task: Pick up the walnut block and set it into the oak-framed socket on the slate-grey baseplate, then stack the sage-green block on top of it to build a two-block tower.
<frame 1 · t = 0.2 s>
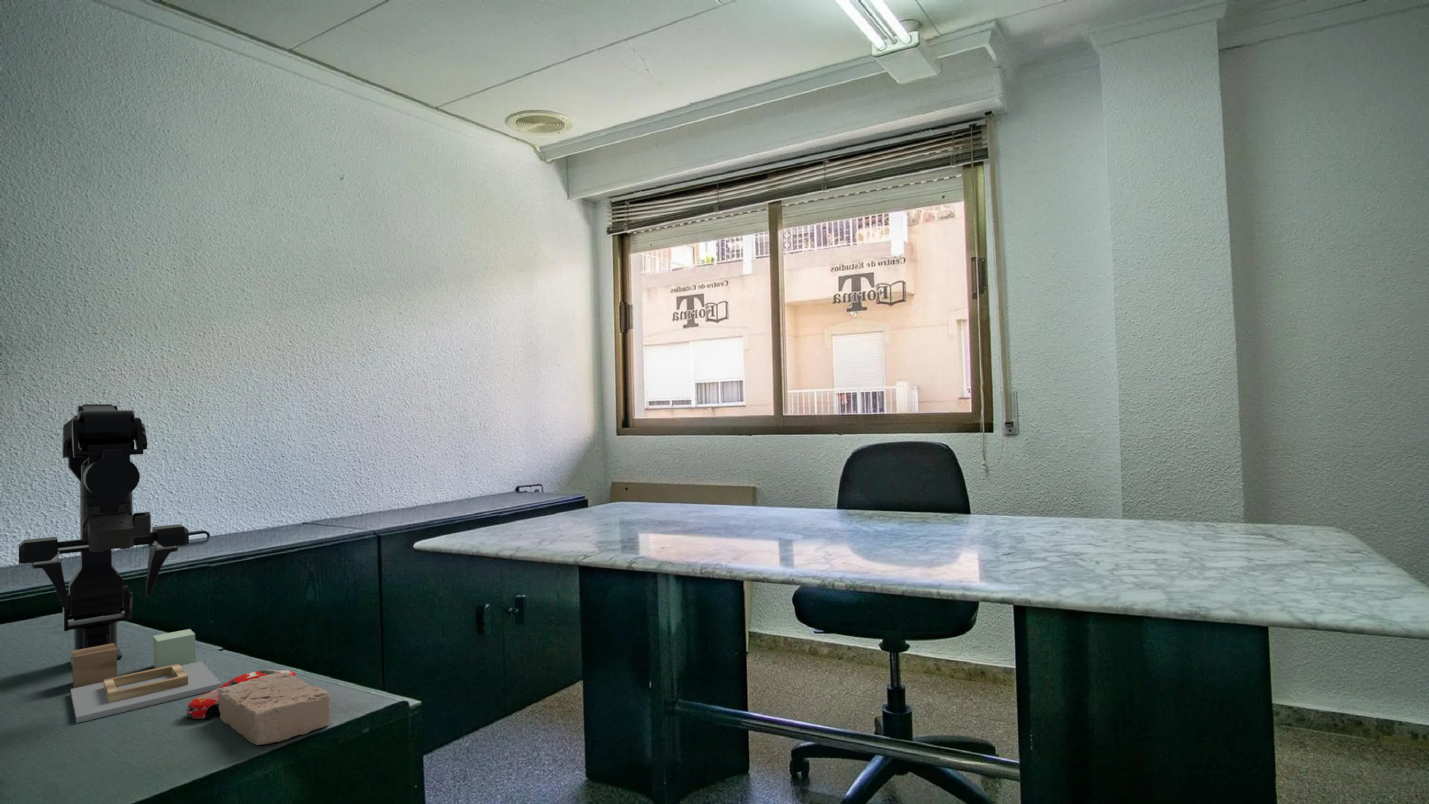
hand: (108, 601, 104), 14 cm above the table, fingers open, 9 cm apart
walnut block: (94, 682, 111), on the table
sage block: (174, 665, 118), on the table
baseplate: (145, 691, 105), on the table
brick: (272, 726, 91), on the table
race car: (244, 706, 98), on the table
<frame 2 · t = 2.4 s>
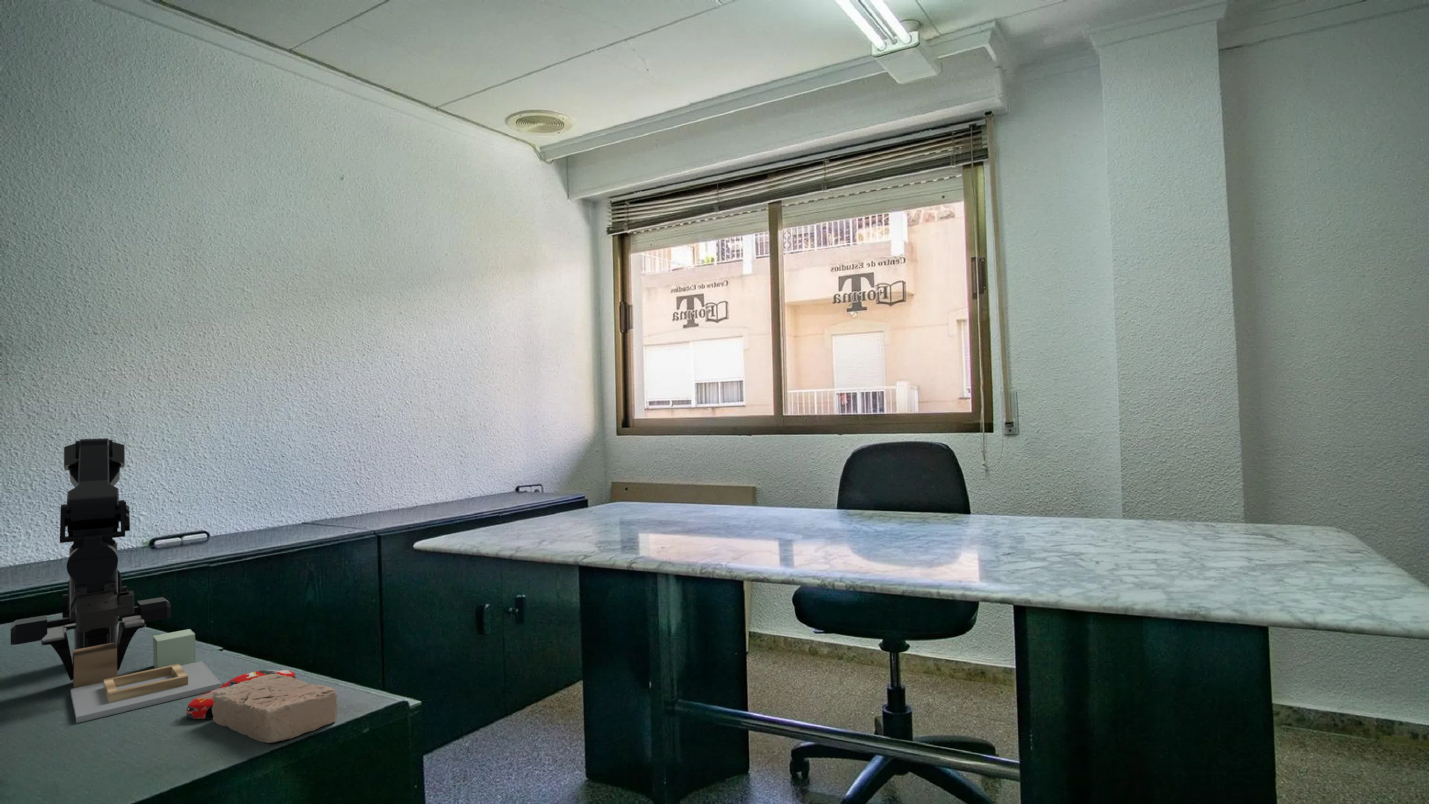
hand: (94, 674, 111), 1 cm above the table, fingers closed on walnut block, 5 cm apart
walnut block: (94, 681, 111), on the table, touching gripper
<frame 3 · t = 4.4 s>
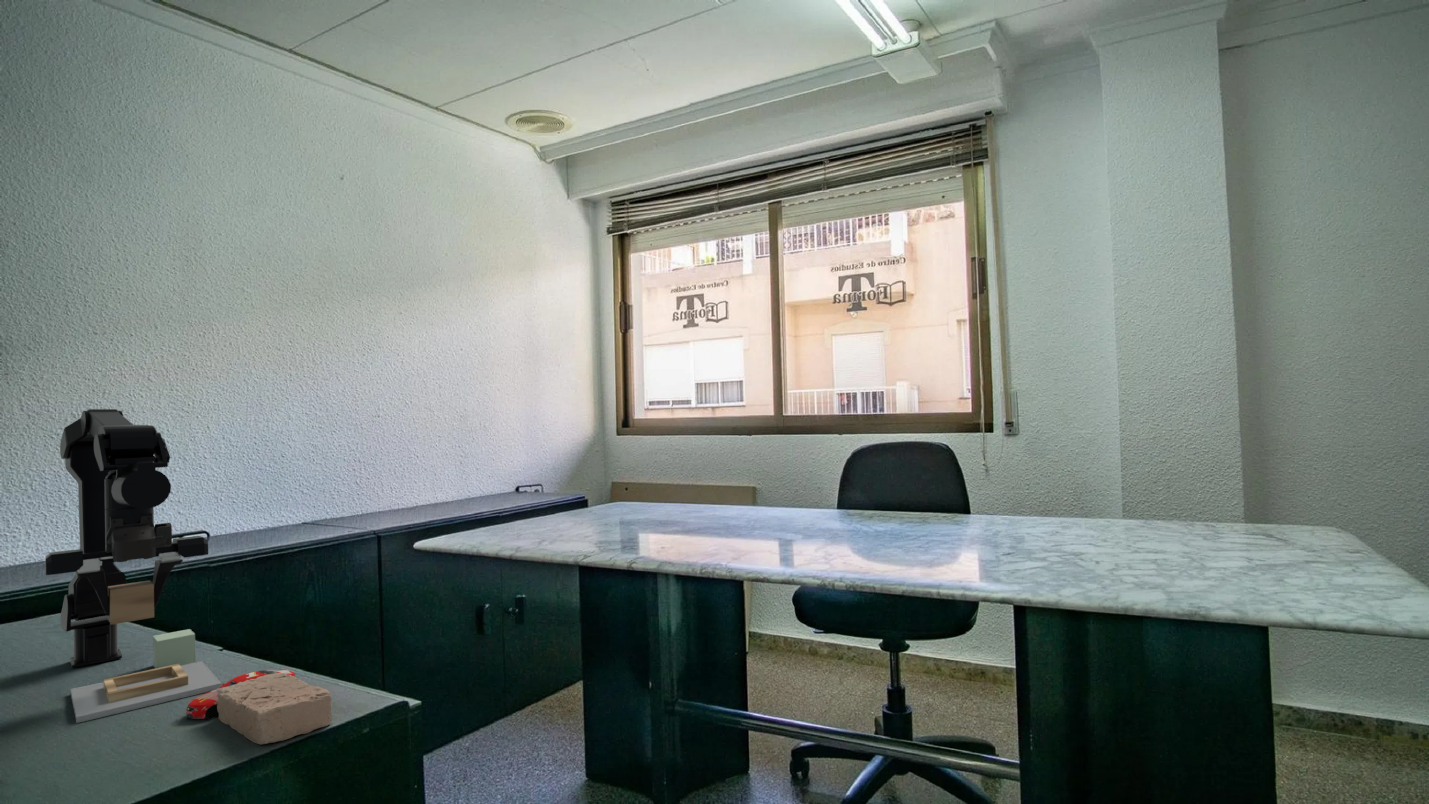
hand: (131, 611, 107), 12 cm above the table, fingers closed on walnut block, 5 cm apart
walnut block: (131, 618, 106), point 11 cm above the table, touching gripper
everything else where it was.
when the fingers open (3 cm above the table, at t = 6.6 s): walnut block stays where it is, resting on baseplate.
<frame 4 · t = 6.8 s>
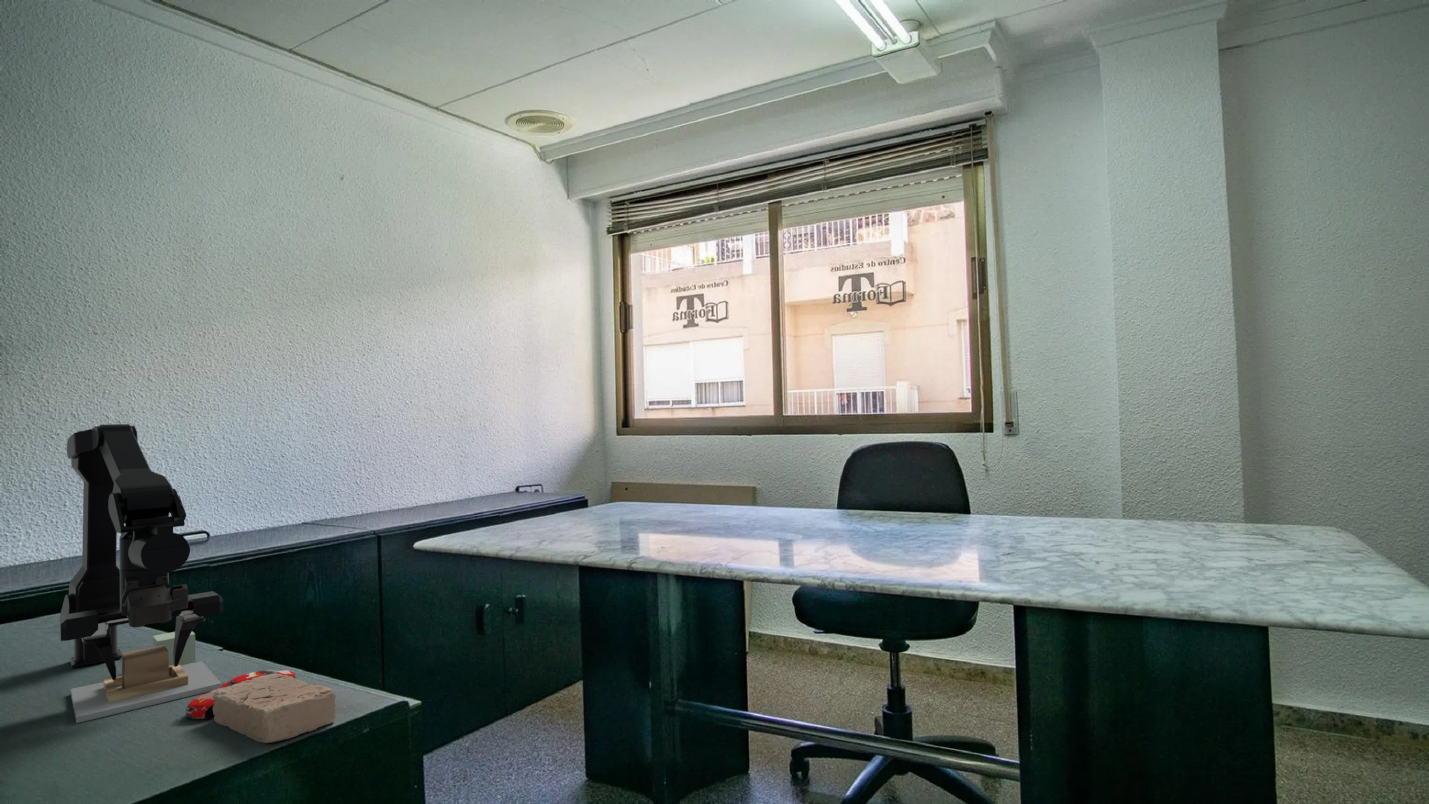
hand: (145, 672, 105), 3 cm above the table, fingers open, 7 cm apart
walnut block: (145, 686, 105), point 1 cm above the table, touching baseplate
everything else where it was.
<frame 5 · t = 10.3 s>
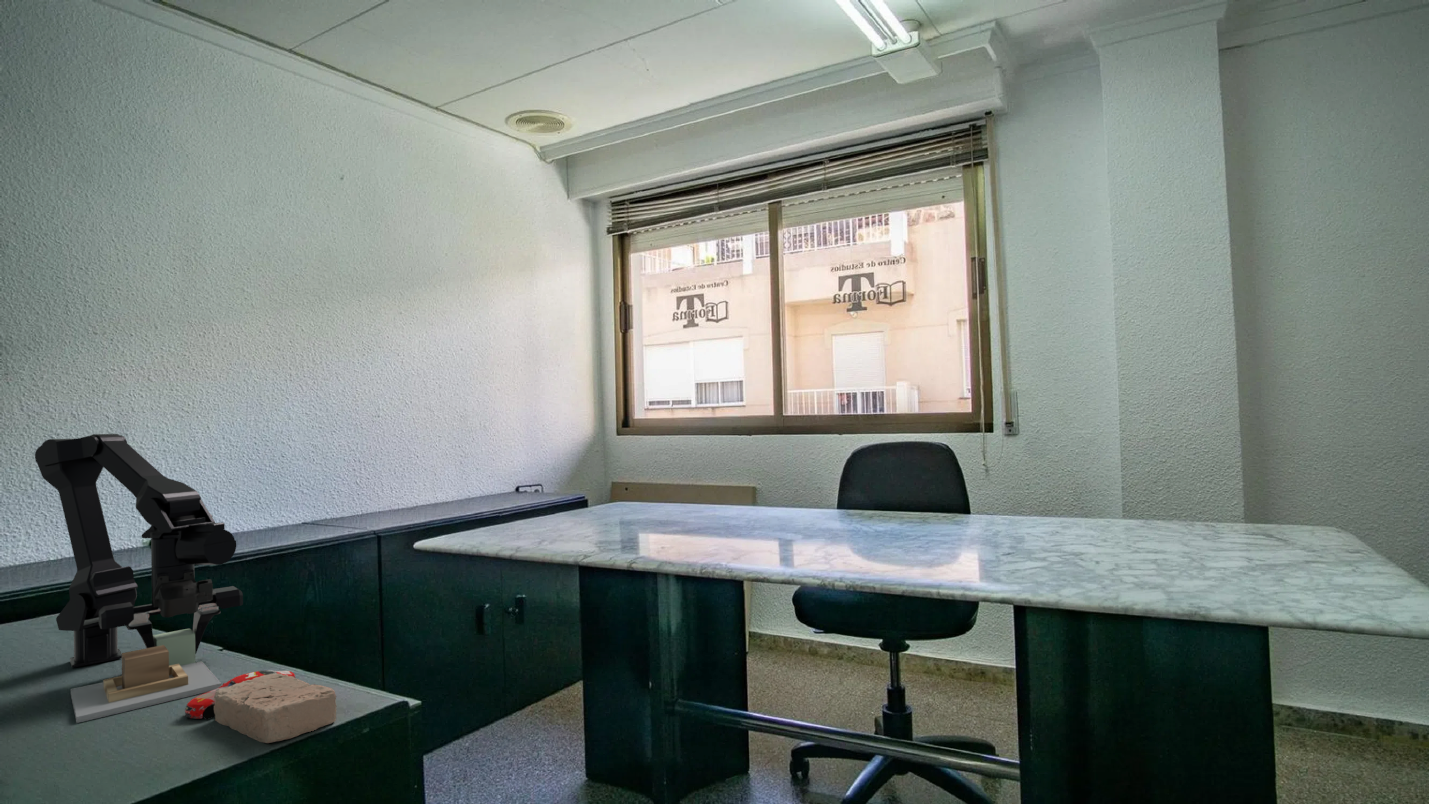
hand: (174, 658, 118), 1 cm above the table, fingers closed on sage block, 5 cm apart
sage block: (174, 664, 118), on the table, touching gripper
everything else where it was.
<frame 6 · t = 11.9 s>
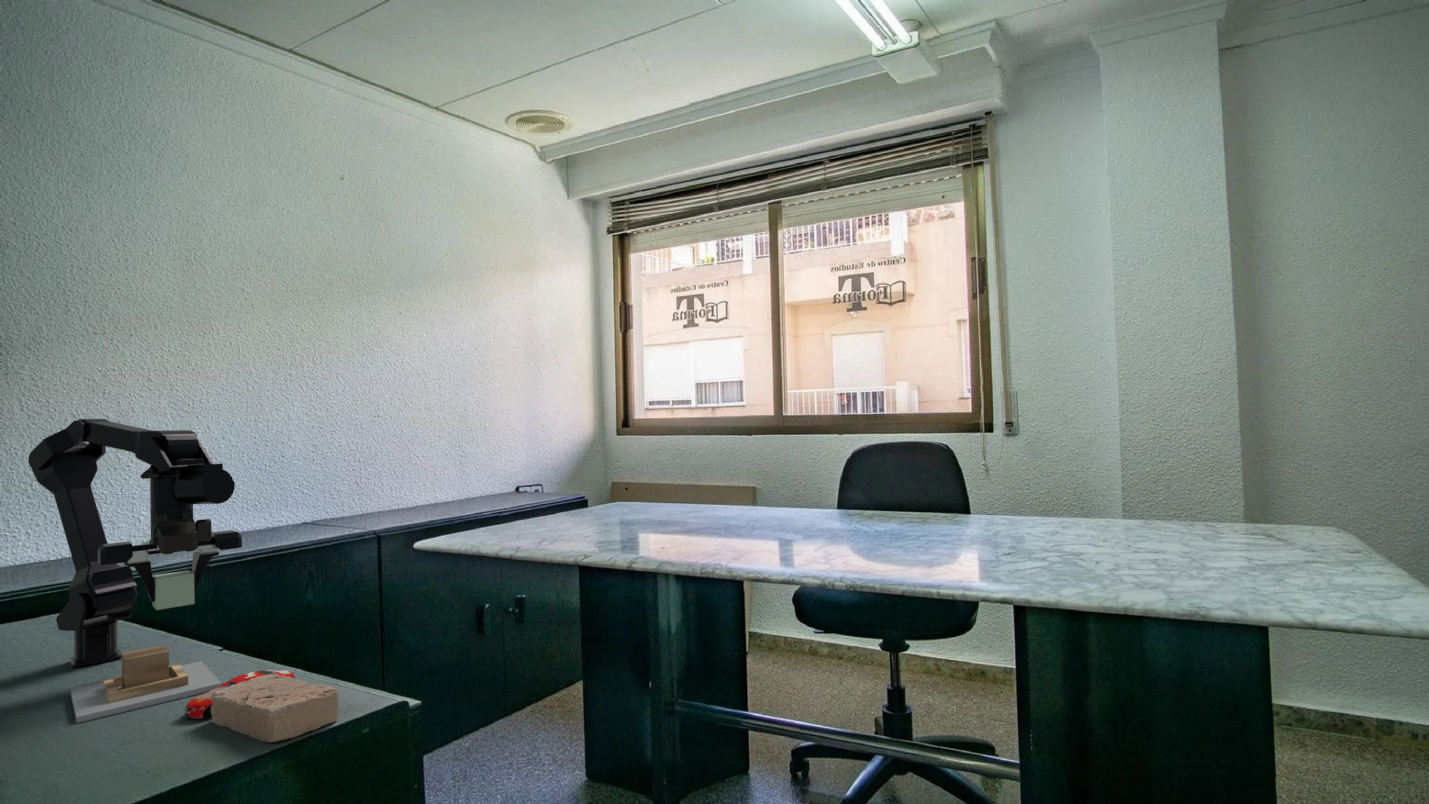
hand: (173, 598, 118), 11 cm above the table, fingers closed on sage block, 5 cm apart
sage block: (173, 604, 118), point 10 cm above the table, touching gripper
everything else where it was.
when the fingers open (8 cm above the table, at t = 13.8 s): sage block stays where it is, resting on walnut block.
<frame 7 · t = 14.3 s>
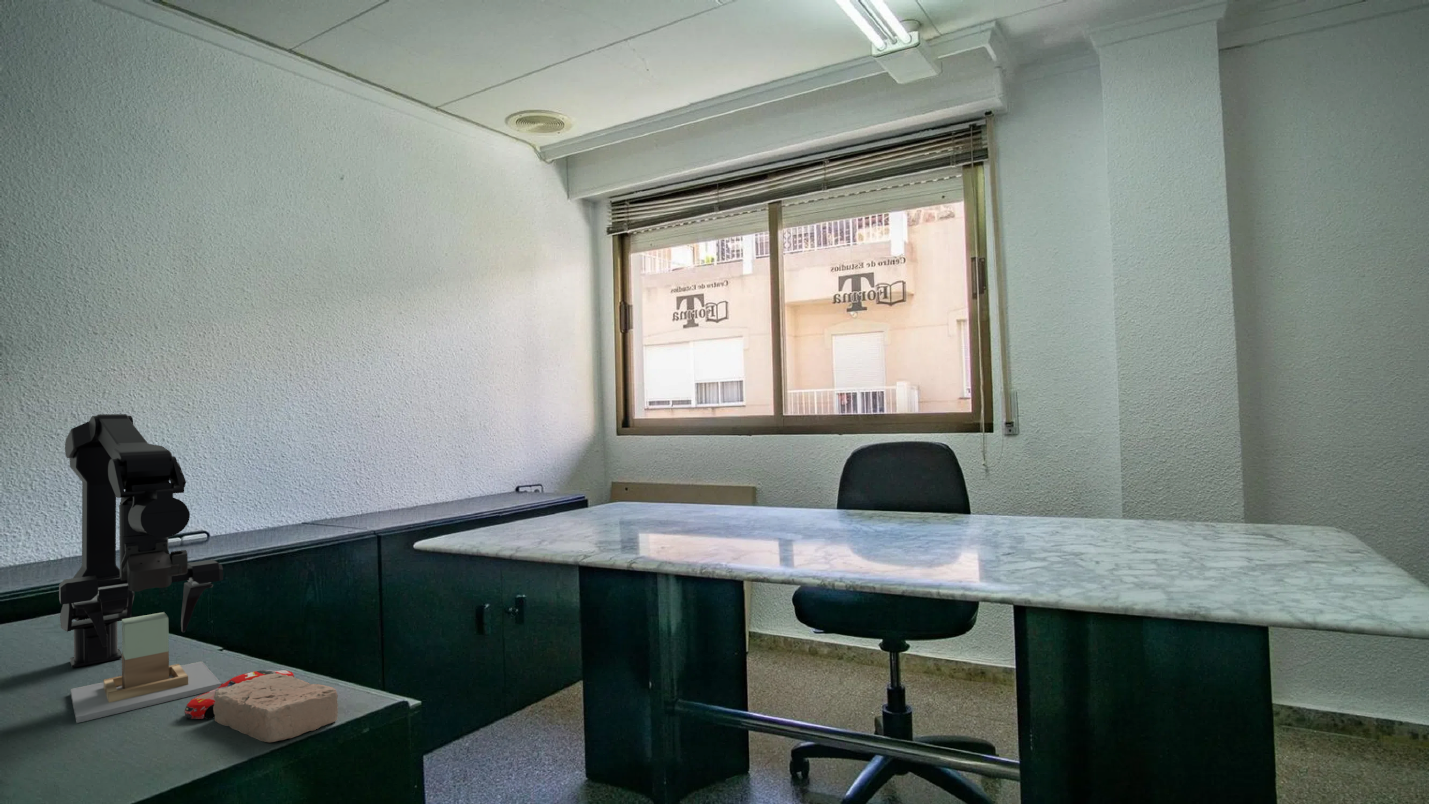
hand: (145, 638, 105), 8 cm above the table, fingers open, 9 cm apart
walnut block: (145, 686, 105), point 1 cm above the table, touching baseplate, sage block
sage block: (145, 652, 105), point 6 cm above the table, touching walnut block
everything else where it was.
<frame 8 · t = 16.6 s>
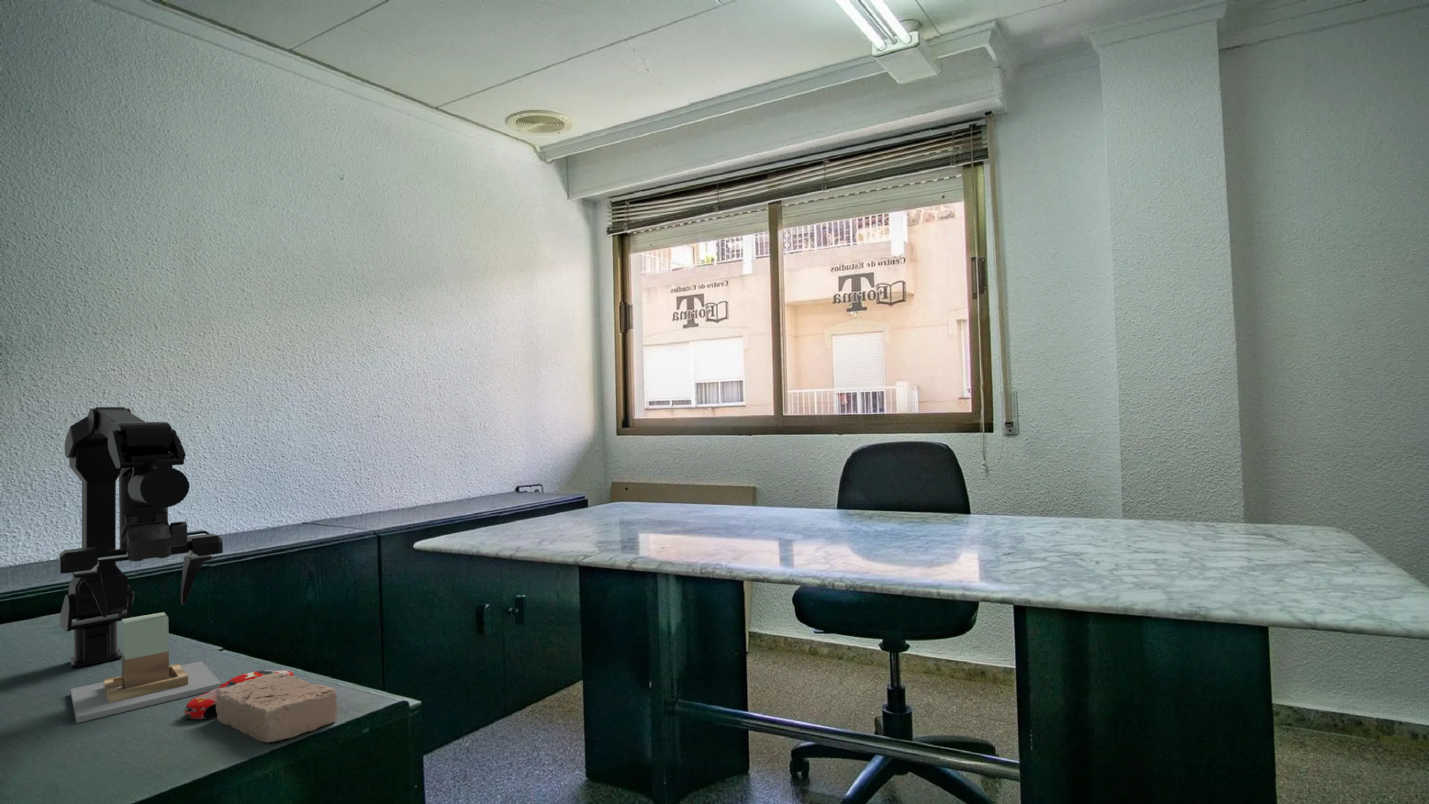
hand: (145, 610, 105), 12 cm above the table, fingers open, 9 cm apart
nothing on the table moved.
at the end: walnut block 0.0 cm off-centre on the baseplate, point 0.8 cm above the baseplate's base; sage block 0.0 cm off-centre on the baseplate, point 5.8 cm above the baseplate's base; sage block tilted 0° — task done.
